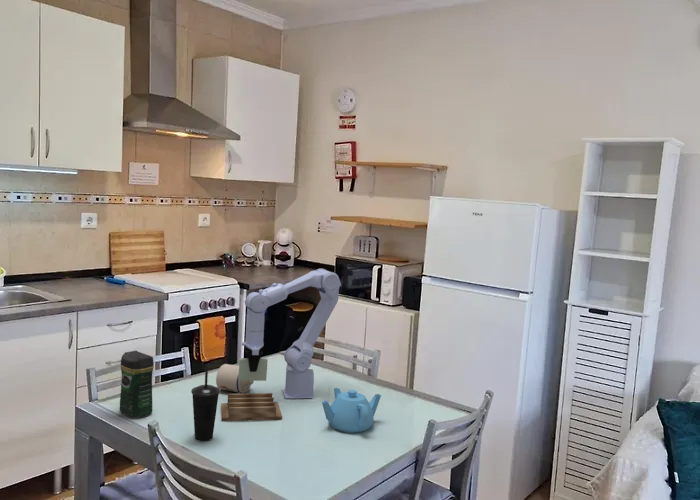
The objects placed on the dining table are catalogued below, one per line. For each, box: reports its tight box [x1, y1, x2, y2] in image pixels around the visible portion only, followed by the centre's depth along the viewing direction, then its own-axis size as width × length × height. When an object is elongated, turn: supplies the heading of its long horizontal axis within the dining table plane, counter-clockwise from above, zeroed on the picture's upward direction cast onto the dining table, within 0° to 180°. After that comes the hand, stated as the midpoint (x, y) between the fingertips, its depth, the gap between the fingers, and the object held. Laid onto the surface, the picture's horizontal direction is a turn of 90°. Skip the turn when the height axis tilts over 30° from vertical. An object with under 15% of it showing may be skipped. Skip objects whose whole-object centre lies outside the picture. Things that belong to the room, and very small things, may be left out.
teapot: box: [321, 387, 382, 434], centre depth 181 cm, size 15×15×11 cm
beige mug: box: [215, 363, 254, 394], centre depth 204 cm, size 12×9×12 cm
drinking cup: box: [190, 366, 221, 442], centre depth 165 cm, size 8×8×20 cm
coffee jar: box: [119, 350, 155, 419], centre depth 178 cm, size 10×8×19 cm
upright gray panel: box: [238, 357, 268, 382], centre depth 195 cm, size 9×2×7 cm, turn 103°
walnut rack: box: [220, 392, 283, 422], centre depth 185 cm, size 18×12×4 cm
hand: (252, 370), depth 195 cm, fingers closed on upright gray panel, 2 cm apart
